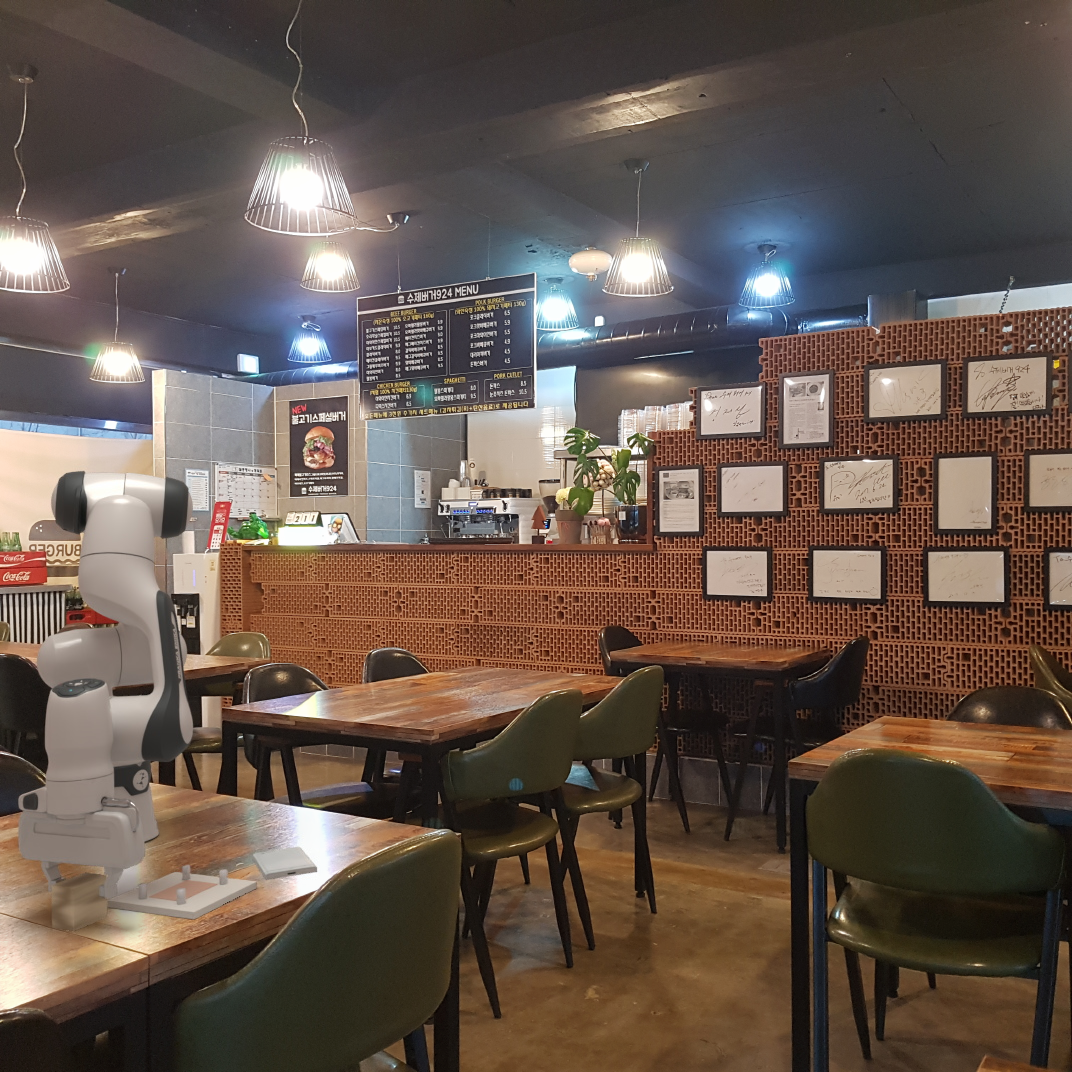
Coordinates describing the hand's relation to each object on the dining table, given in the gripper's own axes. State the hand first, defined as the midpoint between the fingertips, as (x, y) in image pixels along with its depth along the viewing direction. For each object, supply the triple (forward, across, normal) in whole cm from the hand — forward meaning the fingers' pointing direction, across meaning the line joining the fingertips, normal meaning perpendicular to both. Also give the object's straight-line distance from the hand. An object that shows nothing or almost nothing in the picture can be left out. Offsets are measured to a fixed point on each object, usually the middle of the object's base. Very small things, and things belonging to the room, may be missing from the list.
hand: (82, 894), depth 141 cm
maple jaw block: (+4, +1, 0) cm, 4 cm away
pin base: (+4, -6, -13) cm, 15 cm away
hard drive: (+5, -12, -31) cm, 33 cm away
